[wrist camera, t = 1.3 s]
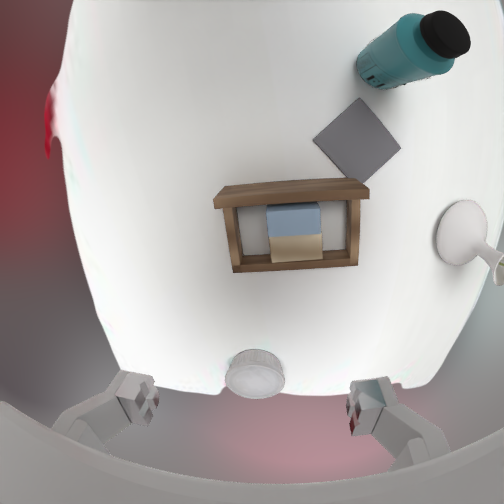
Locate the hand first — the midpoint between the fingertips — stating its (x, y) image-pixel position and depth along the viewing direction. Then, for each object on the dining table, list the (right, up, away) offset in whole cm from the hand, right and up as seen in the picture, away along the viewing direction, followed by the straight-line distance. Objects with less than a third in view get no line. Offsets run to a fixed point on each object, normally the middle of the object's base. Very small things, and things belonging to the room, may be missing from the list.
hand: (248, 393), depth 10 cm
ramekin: (+1, -17, +43) cm, 46 cm away
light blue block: (+6, +12, +28) cm, 31 cm away
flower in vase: (+35, +10, +26) cm, 45 cm away
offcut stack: (+6, +8, +30) cm, 32 cm away
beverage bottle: (+17, +30, +18) cm, 39 cm away
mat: (+14, +20, +23) cm, 34 cm away
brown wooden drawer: (+6, +10, +29) cm, 31 cm away
